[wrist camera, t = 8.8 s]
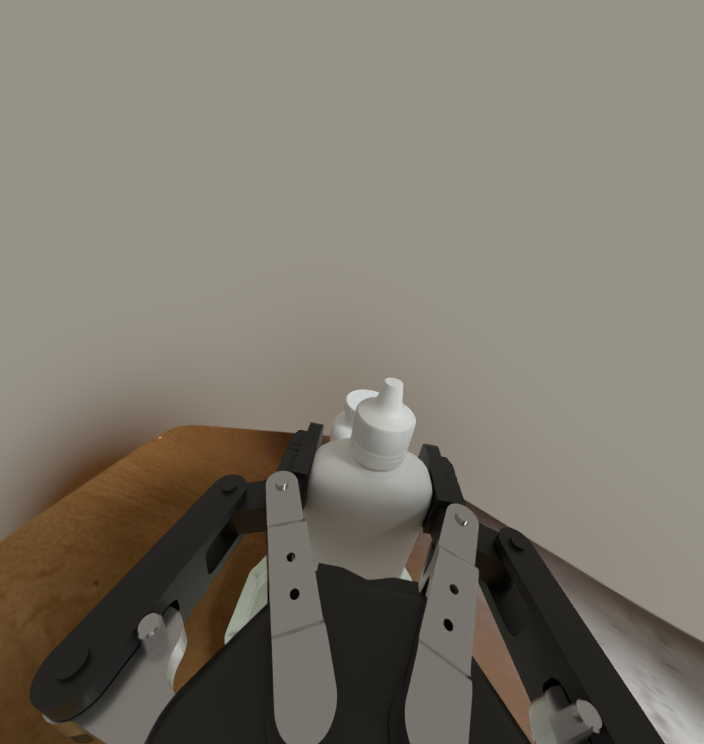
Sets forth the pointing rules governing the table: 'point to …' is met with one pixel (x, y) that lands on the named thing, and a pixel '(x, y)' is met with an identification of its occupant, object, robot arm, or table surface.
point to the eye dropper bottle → (369, 491)
